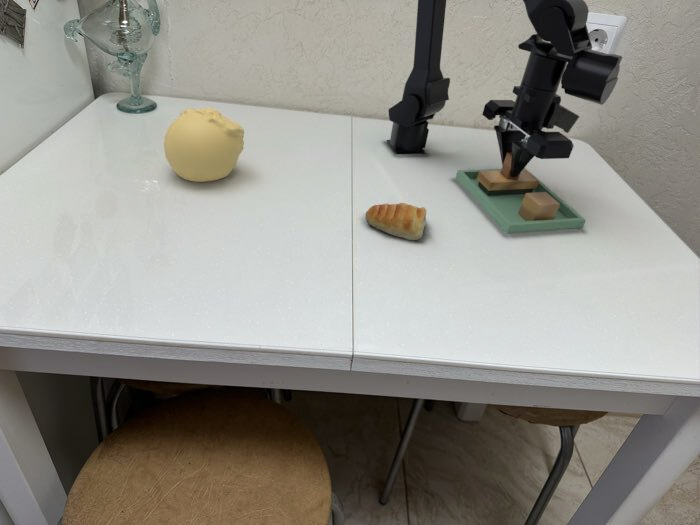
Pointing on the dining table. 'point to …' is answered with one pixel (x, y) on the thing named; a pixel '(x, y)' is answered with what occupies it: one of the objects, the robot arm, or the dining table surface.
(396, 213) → the pastry
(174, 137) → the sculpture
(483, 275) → the dining table surface
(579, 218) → the tray
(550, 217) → the wooden cube
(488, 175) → the wooden stamp
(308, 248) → the dining table surface
